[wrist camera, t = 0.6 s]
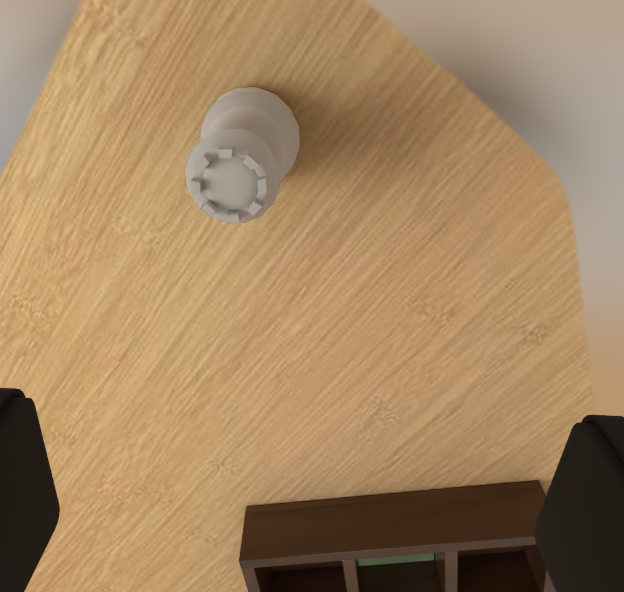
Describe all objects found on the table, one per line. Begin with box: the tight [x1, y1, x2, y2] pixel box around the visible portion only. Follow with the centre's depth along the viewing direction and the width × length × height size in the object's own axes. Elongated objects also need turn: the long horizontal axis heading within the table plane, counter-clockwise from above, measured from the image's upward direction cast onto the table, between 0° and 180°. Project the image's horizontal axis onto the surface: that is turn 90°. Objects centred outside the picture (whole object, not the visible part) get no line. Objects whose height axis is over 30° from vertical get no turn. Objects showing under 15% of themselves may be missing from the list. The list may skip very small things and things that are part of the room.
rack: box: [239, 481, 556, 592], centre depth 37 cm, size 13×20×4 cm
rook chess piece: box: [185, 87, 300, 223], centre depth 21 cm, size 4×4×8 cm
